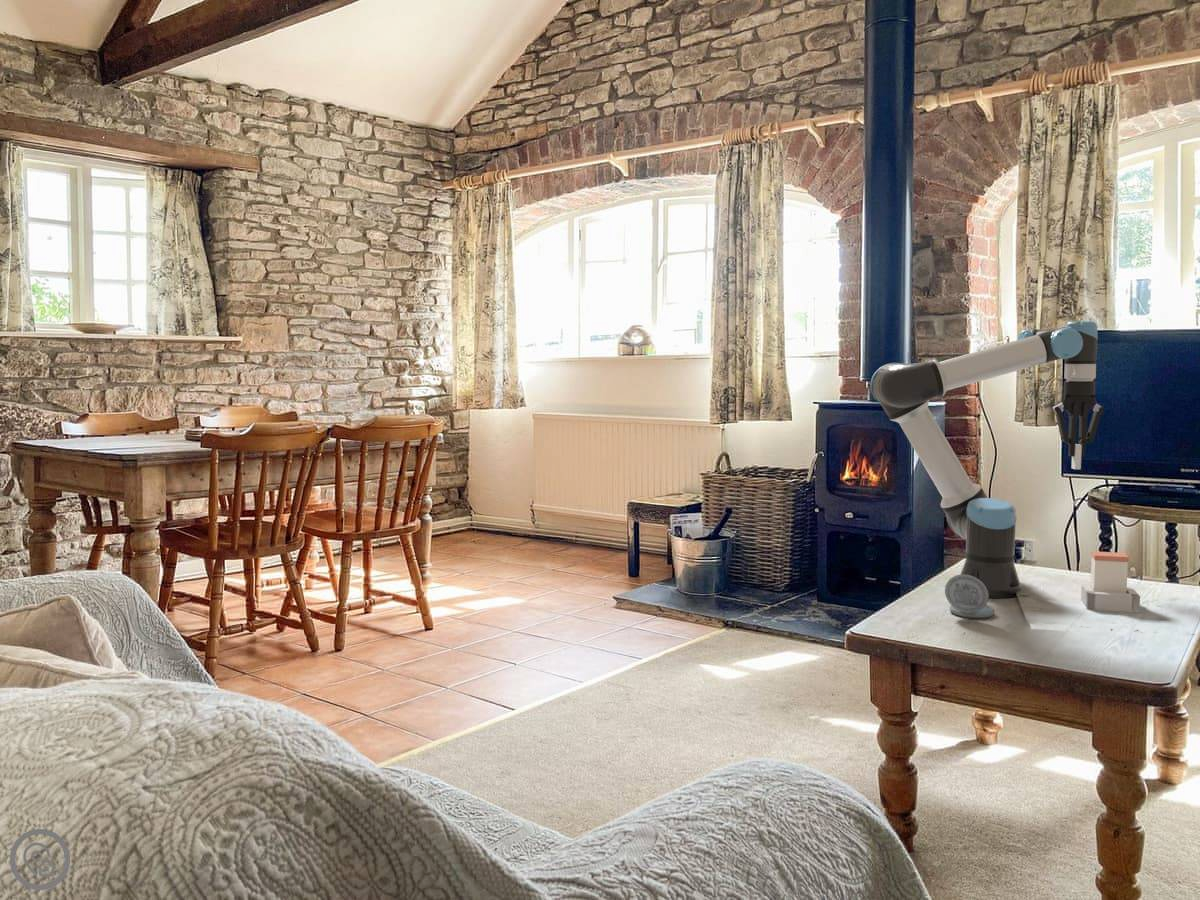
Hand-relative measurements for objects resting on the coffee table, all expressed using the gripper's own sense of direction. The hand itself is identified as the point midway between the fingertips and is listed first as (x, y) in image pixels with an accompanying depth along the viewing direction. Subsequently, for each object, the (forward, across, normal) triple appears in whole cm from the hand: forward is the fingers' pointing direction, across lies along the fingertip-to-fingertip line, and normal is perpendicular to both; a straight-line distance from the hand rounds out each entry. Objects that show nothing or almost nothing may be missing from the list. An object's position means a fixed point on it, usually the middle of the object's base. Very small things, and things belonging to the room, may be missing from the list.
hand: (1076, 468), depth 264 cm
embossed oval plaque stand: (+31, +34, +38) cm, 60 cm away
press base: (+30, +1, +29) cm, 42 cm away
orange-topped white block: (+29, +1, +29) cm, 41 cm away
